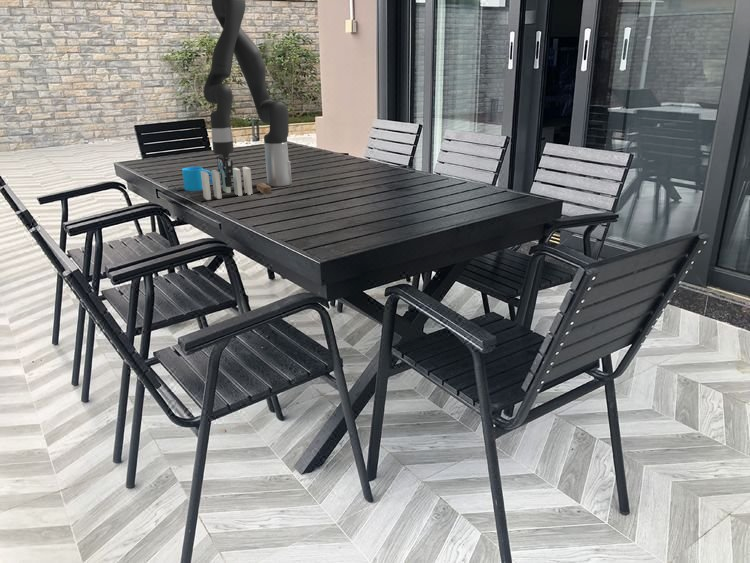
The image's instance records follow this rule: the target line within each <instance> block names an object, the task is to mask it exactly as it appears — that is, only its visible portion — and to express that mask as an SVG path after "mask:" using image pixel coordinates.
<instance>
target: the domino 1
mask: <svg viewBox="0 0 750 563" xmlns="http://www.w3.org/2000/svg"><path fill="white" fill-rule="evenodd" d="M201 178H202V187H203V190H202V193H203V198H204V200H206V201H210V200H211V201H212V194H211V193H212V192H211V186H210V185H211V184H209V182H210V174H209V173H208V172H206V171H201Z"/></svg>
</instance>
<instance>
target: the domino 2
mask: <svg viewBox="0 0 750 563" xmlns="http://www.w3.org/2000/svg"><path fill="white" fill-rule="evenodd" d="M210 172H211V173H212V187H213V188H212V189H213V196H214V198H215V199H223V196H222V186H221V185H222V184H221V175H220V172H219V171H218V170H217V169H212V170H210Z"/></svg>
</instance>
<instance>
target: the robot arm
mask: <svg viewBox="0 0 750 563" xmlns="http://www.w3.org/2000/svg"><path fill="white" fill-rule="evenodd" d="M246 5H247V4H246V0H211V8H212V10H213V13H214V16H215V17H216V19H217V21H218V23H219V25H220V27H221V29H222V31H221V33H220V35H219V38H218V40H217V42H216V44H215V45H214V48H213V52H212V59H211V66H210V71H209V73H208V76H207V78H206V81H205V84H204V87H203V96H204V99H205V100H206V102H207V103H209V104H212V105H213V104H214V105H215V104H216V105H217V106H216V109H215V110H213V111H211V113H210V125H211V126H210V128H211V134H210V135H211V143H212V144H211V145H212V152H213V154H215V155H217V156H216V162H217V169H218V170H217V171H218V172H219V176H220V182H221V185H223V181H222V171H224V176H225V185H226V187H231V188H232V186H233V183H232V177H233V168H234V167H233V166H234V165H233V163H234V162H233V160H231V157H230V154H233V153H234V152H235V150H234V137H233V131H232V124H231V122H232V121H231V112H232V106H233V100H234V99H233V98H234V97H233V91H232V89H231V87H230V86H229V85H228V84H226V83H223V82H224V81H225V79H226V80H227V79H228V78H230V76H231V74H232V68H233V67H232V65H233V59H234V56H235V59H236V61H237V63H238V64H237V65H238V66H239V69H240V71H241V73H242V75H243V77H244V80H245V82H246V85H247V87H248V90H249V92H250V95H251V97H252V100H253V103H254V107H255V111H256V113H257V116H258V118H259V119H260V122H262V123H263V124H265V125H269V131H268V133H266V134H264V136H263V142H264V145H263V146H264V157H265V168H266V181H267V185H268V186H270V187H285V186H288V185H293V184H292V168H291V161H290V160H289V149H288V137H289V132H290V130H289V111H288V110H289V109H288V107H287V106H286V104H285V103H284V102H282V101H279V100H278V101H277V100H272V98H271V97H270V94H269V92H268V89H267V85H266V76H267V75H266V74H267V72H266V68H267V67H266V64H265V61H264V58H263V56H262V54H261V51H260V49H259V48H258V46H257V44H255V42H254V41H253V39H251V38H250V36H248V34H247V33H245V31H244V29H243V28H242V22H243V19H244V15H245V12H246ZM221 167H222V168H221ZM224 167H225V168H224ZM228 170H229V173H228Z"/></svg>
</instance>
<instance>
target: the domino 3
mask: <svg viewBox="0 0 750 563" xmlns="http://www.w3.org/2000/svg"><path fill="white" fill-rule="evenodd" d="M221 168H222V167H221ZM224 168H225V167H224ZM228 173H229V170H228ZM222 181H223V184H222V190H223V192H224V193H226V194H230V193H232V186H231V187H226V185H225V176H224V171H222ZM222 181H221V182H222Z"/></svg>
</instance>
